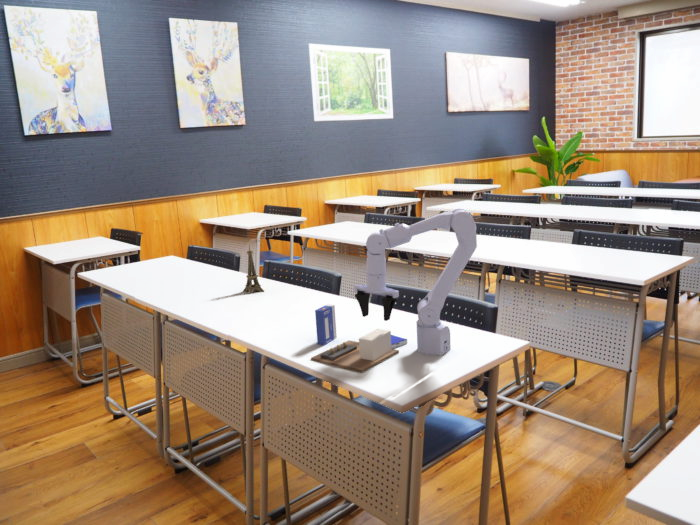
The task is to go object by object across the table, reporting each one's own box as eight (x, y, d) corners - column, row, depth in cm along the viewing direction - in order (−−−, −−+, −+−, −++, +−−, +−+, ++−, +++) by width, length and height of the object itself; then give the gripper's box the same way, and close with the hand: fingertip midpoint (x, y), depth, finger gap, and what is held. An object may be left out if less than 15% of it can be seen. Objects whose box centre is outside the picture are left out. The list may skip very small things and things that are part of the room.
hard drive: (361, 337, 182) (388, 345, 173) (379, 330, 187) (407, 338, 178) (361, 341, 183) (388, 350, 173) (379, 335, 188) (407, 343, 178)
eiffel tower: (260, 293, 257) (255, 238, 252) (270, 298, 248) (264, 241, 243) (238, 297, 251) (232, 241, 247) (246, 302, 242) (241, 244, 238)
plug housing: (391, 350, 171) (390, 330, 170) (373, 360, 163) (372, 340, 162) (378, 347, 174) (377, 328, 172) (360, 358, 166) (358, 338, 165)
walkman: (325, 346, 180) (322, 309, 178) (317, 345, 181) (314, 309, 179) (337, 339, 187) (335, 303, 185) (330, 338, 188) (327, 302, 186)
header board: (398, 352, 171) (398, 342, 170) (362, 372, 157) (361, 361, 156) (349, 342, 182) (348, 332, 182) (311, 360, 169) (310, 349, 168)
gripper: (404, 273, 168) (403, 318, 170) (363, 268, 176) (363, 311, 179) (392, 278, 162) (391, 324, 165) (350, 272, 170) (350, 316, 173)
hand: (376, 317), depth 171 cm, fingers open, 7 cm apart
